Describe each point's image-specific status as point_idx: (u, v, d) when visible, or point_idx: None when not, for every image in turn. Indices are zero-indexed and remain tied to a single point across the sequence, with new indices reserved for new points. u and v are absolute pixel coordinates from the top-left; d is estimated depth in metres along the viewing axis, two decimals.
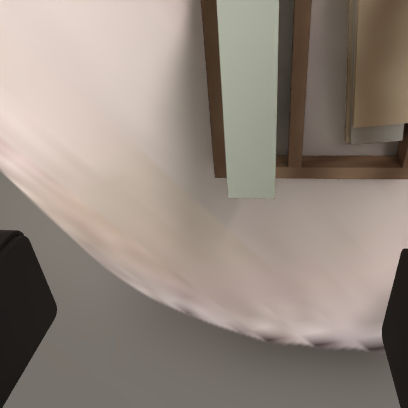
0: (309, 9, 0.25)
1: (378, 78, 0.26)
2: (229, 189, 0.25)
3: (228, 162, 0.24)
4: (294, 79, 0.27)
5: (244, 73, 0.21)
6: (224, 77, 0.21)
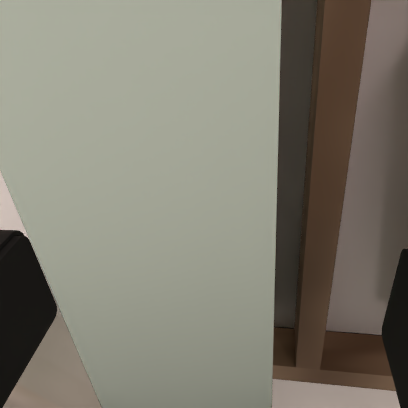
0: (351, 112, 0.10)
1: None
2: None
3: None
4: (311, 241, 0.13)
5: (161, 387, 0.06)
6: (102, 386, 0.07)
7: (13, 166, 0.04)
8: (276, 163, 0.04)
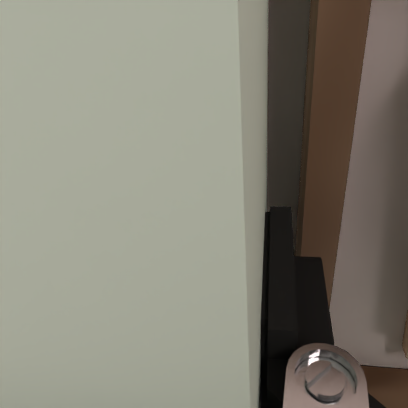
0: (347, 144, 0.09)
1: None
2: None
3: None
4: None
5: None
6: None
7: None
8: (245, 292, 0.03)
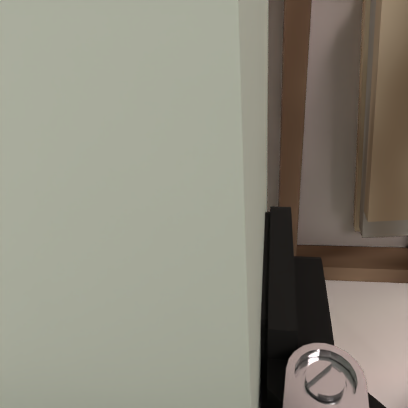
0: (305, 68, 0.17)
1: (404, 160, 0.18)
2: None
3: None
4: (284, 159, 0.19)
5: None
6: None
7: None
8: (245, 290, 0.03)
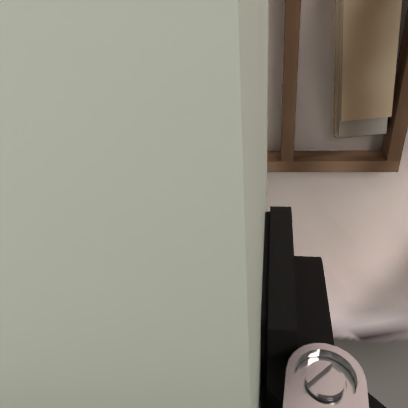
0: (298, 14, 0.27)
1: (363, 75, 0.28)
2: None
3: None
4: (285, 79, 0.29)
5: None
6: None
7: None
8: (245, 292, 0.03)
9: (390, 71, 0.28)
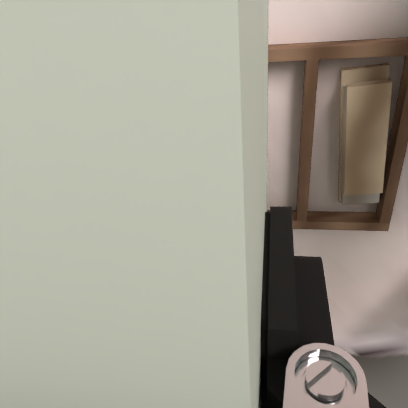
0: (312, 122, 0.36)
1: (360, 164, 0.37)
2: None
3: None
4: (302, 164, 0.39)
5: None
6: None
7: None
8: (245, 293, 0.03)
9: (381, 162, 0.37)
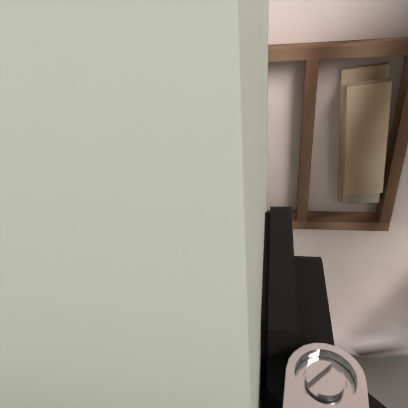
0: (312, 122, 0.36)
1: (360, 164, 0.37)
2: None
3: None
4: (302, 164, 0.39)
5: None
6: None
7: None
8: (245, 293, 0.03)
9: (381, 162, 0.37)
